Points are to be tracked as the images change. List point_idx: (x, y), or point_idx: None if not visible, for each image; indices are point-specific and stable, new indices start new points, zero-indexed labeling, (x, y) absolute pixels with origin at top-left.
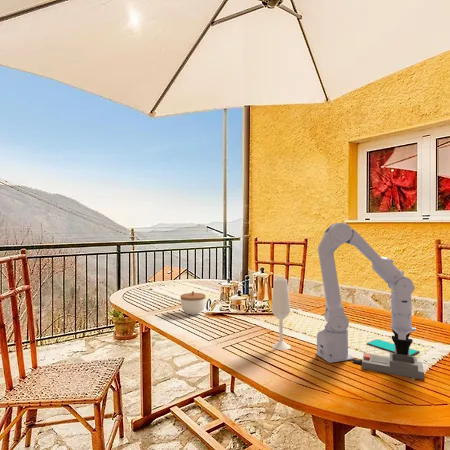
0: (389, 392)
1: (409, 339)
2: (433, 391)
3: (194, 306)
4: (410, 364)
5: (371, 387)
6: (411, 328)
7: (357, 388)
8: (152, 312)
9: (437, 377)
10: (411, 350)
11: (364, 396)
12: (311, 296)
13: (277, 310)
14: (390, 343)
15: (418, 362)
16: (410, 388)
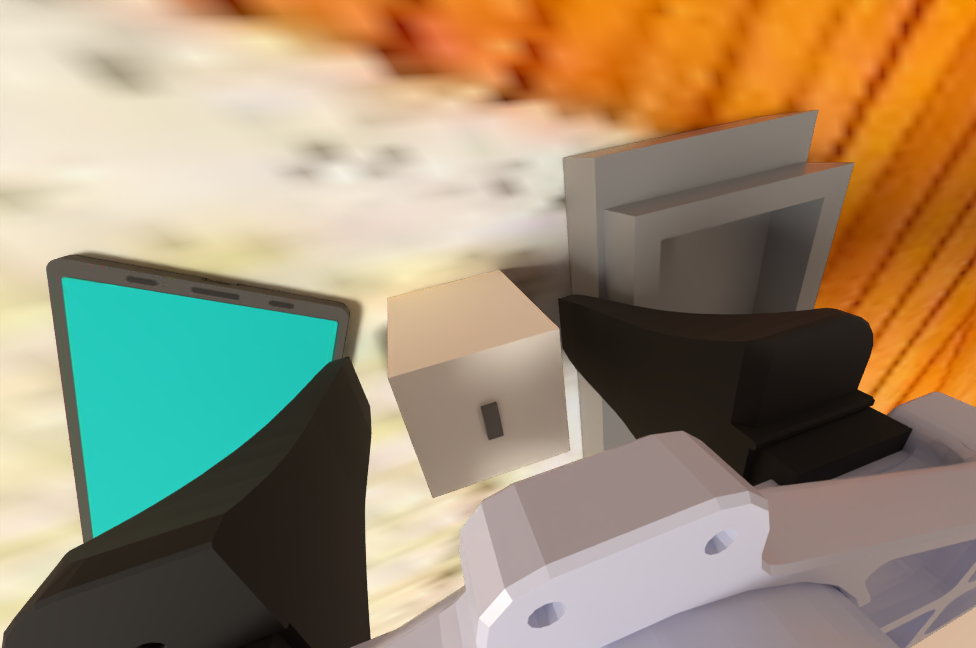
0: (921, 262)
1: (796, 373)
2: (910, 36)
3: None
4: (835, 225)
5: (881, 336)
6: (734, 608)
7: (892, 371)
8: None
9: (686, 6)
10: (121, 337)
11: (948, 328)
12: None
13: None
14: (103, 528)
15: (615, 188)
16: (880, 181)
